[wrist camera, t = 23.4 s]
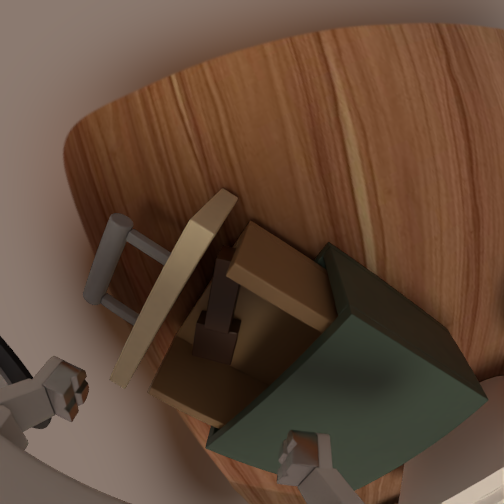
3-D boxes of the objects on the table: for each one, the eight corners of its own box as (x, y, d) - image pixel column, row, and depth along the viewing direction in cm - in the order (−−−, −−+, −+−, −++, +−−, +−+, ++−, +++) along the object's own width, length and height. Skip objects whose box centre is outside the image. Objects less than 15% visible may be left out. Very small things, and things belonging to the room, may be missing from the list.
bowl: (564, 352, 22) (605, 409, 11) (473, 463, 31) (490, 517, 20) (446, 346, 23) (498, 451, 11) (349, 476, 32) (353, 550, 21)
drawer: (102, 293, 23) (56, 343, 17) (165, 153, 18) (109, 168, 12) (276, 393, 25) (272, 458, 19) (378, 291, 20) (407, 354, 14)
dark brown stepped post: (213, 242, 19) (205, 255, 17) (258, 253, 19) (255, 267, 17) (197, 342, 22) (189, 359, 20) (234, 351, 22) (229, 369, 20)
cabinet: (226, 366, 25) (205, 448, 17) (328, 241, 20) (351, 313, 12) (344, 420, 27) (351, 492, 19) (447, 328, 22) (488, 400, 14)
